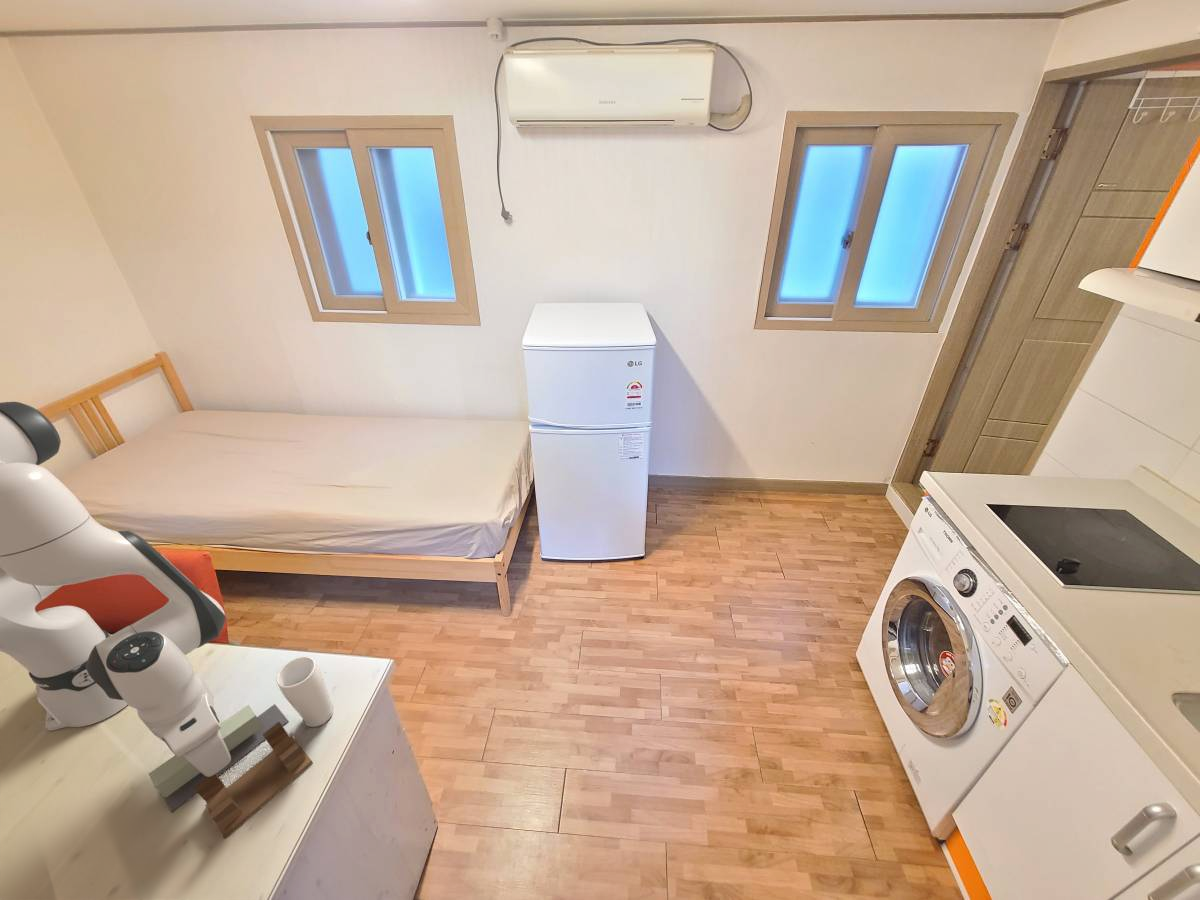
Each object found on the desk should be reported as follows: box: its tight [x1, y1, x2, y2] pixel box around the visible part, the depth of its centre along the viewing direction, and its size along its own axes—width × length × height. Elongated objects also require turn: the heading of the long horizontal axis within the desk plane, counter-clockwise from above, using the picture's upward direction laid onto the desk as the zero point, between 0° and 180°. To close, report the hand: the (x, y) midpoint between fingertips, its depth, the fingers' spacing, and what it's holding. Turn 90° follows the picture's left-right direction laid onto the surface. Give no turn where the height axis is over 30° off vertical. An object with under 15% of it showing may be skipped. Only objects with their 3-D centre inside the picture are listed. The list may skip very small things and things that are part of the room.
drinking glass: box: [276, 656, 334, 728], centre depth 96 cm, size 7×7×15 cm
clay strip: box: [148, 704, 263, 799], centre depth 91 cm, size 16×4×4 cm, turn 142°
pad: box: [163, 703, 289, 813], centre depth 94 cm, size 6×20×1 cm, turn 144°
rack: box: [194, 722, 313, 839], centre depth 88 cm, size 8×15×6 cm, turn 144°
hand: (211, 748), depth 92 cm, fingers closed on clay strip, 3 cm apart
